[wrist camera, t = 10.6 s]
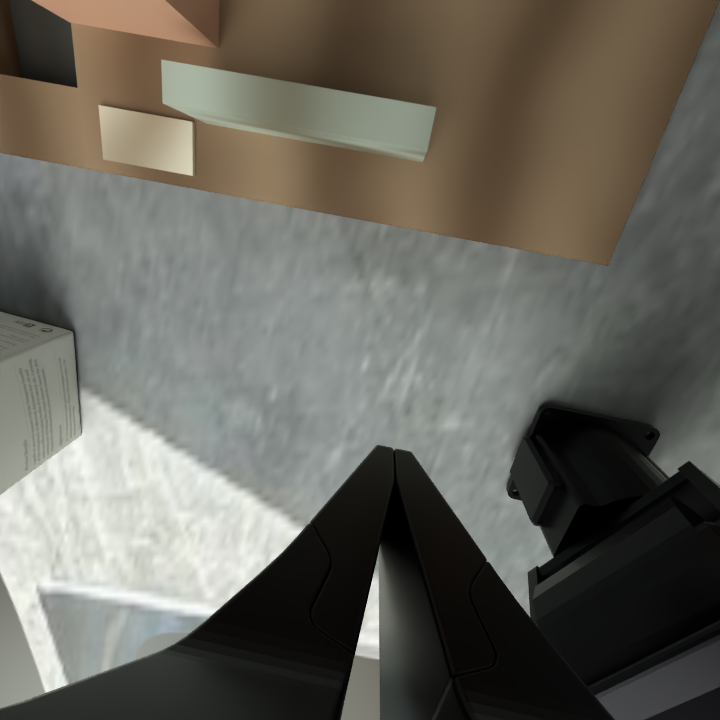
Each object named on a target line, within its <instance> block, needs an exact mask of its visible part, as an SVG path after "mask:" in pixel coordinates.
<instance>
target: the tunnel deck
mask: <svg viewBox="0 0 720 720" xmlns="http://www.w3.org/2000/svg"><path fill="white" fill-rule="evenodd" d="M719 1H720V0H220V3H219V49H218V48H213V47H207V46H201V45H196V44H190V43H184V42H179V41H173V40H167V39H162V38H156V37H150V36H144V35H139V34H133V33H127V32H122V31H116V30H110V29H105V28H99V27H93V26H88V25H82V24H76V23H71V22H68V21H66V20H65V19H63V18H61V17H60V16H58V15H56V14H54V13H53V12H51V11H49V10H47V9H46V8H44V7H42V6H40V5H39V4H37V3H35V2H34V1H32V0H0V153H4V154H10V155H15V156H21V157H26V158H31V159H37V160H42V161H48V162H53V163H58V164H64V165H69V166H74V167H80V168H85V169H91V170H96V171H101V172H107V173H112V174H117V175H123V176H128V177H134V178H139V179H144V180H150V181H155V182H161V183H166V184H171V185H177V186H182V187H187V188H193V189H198V190H204V191H209V192H214V193H220V194H225V195H230V196H236V197H241V198H247V199H252V200H257V201H263V202H268V203H274V204H279V205H284V206H290V207H295V208H300V209H306V210H311V211H317V212H322V213H327V214H333V215H338V216H343V217H349V218H354V219H360V220H365V221H370V222H376V223H381V224H387V225H392V226H397V227H403V228H408V229H413V230H419V231H424V232H430V233H435V234H440V235H446V236H451V237H456V238H462V239H467V240H473V241H478V242H483V243H489V244H494V245H500V246H505V247H510V248H516V249H521V250H526V251H532V252H537V253H543V254H548V255H553V256H559V257H564V258H570V259H575V260H580V261H586V262H591V263H596V264H602V265H607V266H608V264H609V262H610V259H611V257H612V255H613V252H614V250H615V248H616V245H617V243H618V240H619V238H620V236H621V233H622V231H623V229H624V226H625V224H626V221H627V219H628V217H629V214H630V212H631V210H632V207H633V205H634V202H635V200H636V198H637V195H638V193H639V191H640V188H641V186H642V184H643V181H644V179H645V176H646V174H647V172H648V169H649V167H650V165H651V162H652V160H653V157H654V155H655V153H656V150H657V148H658V146H659V143H660V141H661V138H662V136H663V134H664V131H665V129H666V127H667V124H668V122H669V119H670V117H671V115H672V112H673V110H674V108H675V105H676V103H677V100H678V98H679V96H680V93H681V91H682V89H683V86H684V84H685V82H686V79H687V77H688V74H689V72H690V70H691V67H692V65H693V63H694V60H695V58H696V55H697V53H698V51H699V48H700V46H701V44H702V41H703V39H704V36H705V34H706V32H707V29H708V27H709V25H710V22H711V20H712V17H713V15H714V13H715V10H716V8H717V6H718V3H719Z"/></svg>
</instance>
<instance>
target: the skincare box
mask: <svg viewBox="0 0 720 720" xmlns="http://www.w3.org/2000/svg"><path fill="white" fill-rule="evenodd" d="M79 436H81V425H80V413H79V401H78V388H77V375H76V361H75V349H74V336H73V332H72V331H69V330H66V329H63V328H59V327H55V326H52V325H48V324H44V323H41V322H37V321H34V320H30V319H26V318H22V317H19V316H15V315H11V314H7V313H4V312H0V495H1V494H2V493H3V492H5V491H6V490H7V489H9V488H10V487H11V486H13V485H14V484H15V483H17V482H18V481H20V480H21V479H22V478H24V477H25V476H26V475H28V474H29V473H31V472H32V471H33V470H35V469H36V468H37V467H39V466H40V465H41V464H43V463H44V462H45V461H47V460H48V459H49V458H51V457H52V456H53V455H55V454H56V453H58V452H59V451H60V450H62V449H63V448H64V447H66V446H67V445H68V444H70V443H71V442H72V441H74V440H75V439H76V438H78V437H79Z"/></svg>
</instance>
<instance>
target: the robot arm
mask: <svg viewBox="0 0 720 720" xmlns="http://www.w3.org/2000/svg"><path fill="white" fill-rule="evenodd" d="M547 412H551V414H550V415H549V416H545V414H546V413H547ZM648 432H650V433H649V434H648V435H646V436H645V434H646V433H648ZM659 436H660V433H659V431H658V430H657V429H656V428H655V427H654V426H652V425H650V424H645V423H640V422H635V421H630V420H625V419H620V418H615V417H610V416H605V415H600V414H595V413H590V412H585V411H580V410H575V409H570V408H565V407H560V406H555V405H550V404H546V405H543V406H541V407H540V408H539V409H538V411H537V414H536V416H535V419H534V421H533V423H532V426H531V428H530V431H529V433H528V435H527V436H526V437H524V438H523V440H522V442H521V445H520V447H519V450H518V452H517V455H516V457H515V460H514V462H513V465H512V467H511V469H510V473H511V477H510V479H509V482H508V484H507V487H506V490H507V492H508V495H509V496H510V497H511V498H513V499H517V500H522V502H523V504H524V506H525V509H526V511H527V514H528V516H529V518H530V520H531V522H532V523H533V525H535V526H540V528H541V530H542V532H543V535H544V537H545V539H546V541H547V544H548V546H549V548H550V550H551V553H552V555H553V557H554V558H552V559H551V560H549V561H548V562H547V563H545V564H544V565H542V566H541V567H538V566H536V567H535V568H533V569H532V570H531V571H529V572H528V585H529V601H530V617H531V618H530V617H529V615H528V614H527V613H526V612H525V611H524V609H523V608H522V607H521V606H520V604H519V603H518V602H517V600H516V599H515V598H514V596H513V595H512V594H511V592H510V591H509V589H508V588H507V587H506V585H505V584H504V583H503V581H502V580H501V579H500V577H499V576H498V574H497V573H496V572H495V570H494V569H493V567H492V566H491V564H490V563H489V562H486V561H487V560H486V558H485V556H484V555H483V553H482V552H481V550H480V549H479V548H478V546H477V545H476V543H475V542H474V540H473V539H472V538H471V536H470V535H469V533H468V532H467V530H466V529H465V528H464V526H463V525H462V523H461V522H460V520H459V519H458V518H457V516H456V515H455V513H454V512H453V510H452V509H451V508H450V506H449V505H448V503H447V502H446V501H445V499H444V498H443V496H442V495H441V493H440V492H439V491H438V489H437V488H436V486H435V485H434V483H433V482H432V481H431V479H430V478H429V476H428V475H427V473H426V472H425V471H424V469H423V468H422V466H421V465H420V463H419V462H418V461H417V459H416V458H415V456H414V455H413V454H412V452H410V451H406V450H401V449H395V450H393V448H391V447H386V446H381V445H377V446H376V447H375V448H374V449H373V450H372V451H371V452H370V453H369V455H368V456H367V457H366V458H365V459H364V460H363V462H362V463H361V464H360V465H359V466H358V467H357V468H356V470H355V471H354V472H353V473H352V474H351V475H350V477H349V478H348V479H347V480H346V481H345V482H344V483H343V485H342V486H341V487H340V488H339V489H338V490H337V492H336V493H335V494H334V495H333V496H332V497H331V498H330V500H329V501H328V502H327V503H326V504H325V505H324V507H323V508H322V509H321V510H320V511H319V512H318V513H317V515H316V516H315V517H314V518H313V519H312V520H311V522H310V524H308V525H307V526H306V527H305V528H304V529H303V530H302V532H301V533H300V534H299V535H298V536H297V537H296V538H295V539H294V540H293V542H292V543H291V544H290V545H289V546H288V547H287V548H286V549H285V550H284V551H283V552H282V553H281V554H280V555H279V556H278V557H277V558H276V559H275V560H274V561H273V562H271V563H270V564H269V565H268V566H267V567H266V568H265V569H264V570H263V571H262V572H261V573H260V574H258V575H257V576H256V577H255V578H254V579H253V580H252V581H250V582H249V583H248V584H247V585H246V586H245V587H244V588H242V589H241V590H240V591H239V592H238V593H237V594H236V595H234V596H233V597H232V598H231V599H230V600H229V601H228V602H226V603H225V604H224V605H223V606H222V607H221V608H220V609H218V610H217V611H216V612H215V613H214V614H213V615H212V616H210V617H209V618H208V619H207V620H206V621H205V622H203V623H202V624H201V625H200V626H199V627H197V628H196V629H195V630H194V631H192V632H191V633H190V634H188V635H187V636H185V637H184V638H182V639H181V640H179V641H178V642H176V643H175V644H173V645H171V646H169V647H167V648H165V649H164V650H162V651H159V652H157V653H154V654H151V655H148V656H146V657H143V658H140V659H137V660H135V661H132V662H129V663H126V664H124V665H121V666H118V667H115V668H113V669H110V670H107V671H105V672H102V673H99V674H96V675H94V676H91V677H88V678H85V679H83V680H80V681H77V682H74V683H72V684H69V685H66V686H64V687H61V688H58V689H55V690H53V691H50V692H47V693H44V694H42V695H39V696H37V697H34V698H31V699H28V700H25V701H23V702H19V703H16V704H13V705H10V706H6V707H3V708H0V720H341V715H342V710H343V705H344V700H345V695H346V691H347V686H348V681H349V677H350V673H351V669H352V664H353V659H354V655H355V651H356V647H357V643H358V638H359V634H360V630H361V625H362V621H363V617H364V612H365V608H366V604H367V599H368V595H369V591H370V586H371V582H372V578H373V573H374V569H375V565H376V560H377V556H378V552H379V654H380V720H720V485H719V484H717V483H716V482H715V481H714V480H712V479H711V478H710V477H709V476H707V475H706V474H705V473H704V472H702V471H701V470H700V469H699V468H697V467H696V466H695V465H694V464H693V463H691V462H690V461H688V462H687V463H685V464H684V465H682V466H681V467H679V468H678V470H679V472H677V473H676V474H675V475H673V476H672V477H670V478H669V477H668V476H667V475H666V474H665V473H664V472H663V471H662V470H661V469H660V468H659V467H658V466H657V465H656V464H655V463H654V462H653V461H652V460H651V459H650V458H649V457H648V456H649V454H650V452H651V451H652V449H653V447H654V445H655V444H656V442H657V440H658V438H659ZM515 489H517V490H518V491H513V490H515Z"/></svg>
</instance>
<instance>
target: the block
mask: <svg viewBox="0 0 720 720" xmlns="http://www.w3.org/2000/svg"><path fill="white" fill-rule="evenodd" d="M32 1H34V2H35V3H37V4H39V5H40V6H42V7H44V8H46V9H47V10H49V11H51V12H53V13H54V14H56V15H58V16H60V17H61V18H63V19H65V20H66V21H68V22H71V23H76V24H82V25H88V26H93V27H99V28H105V29H110V30H116V31H122V32H127V33H133V34H139V35H144V36H150V37H156V38H162V39H167V40H173V41H179V42H184V43H190V44H196V45H201V46H207V47H213V48H218V49H219V3H220V0H32Z"/></svg>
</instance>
